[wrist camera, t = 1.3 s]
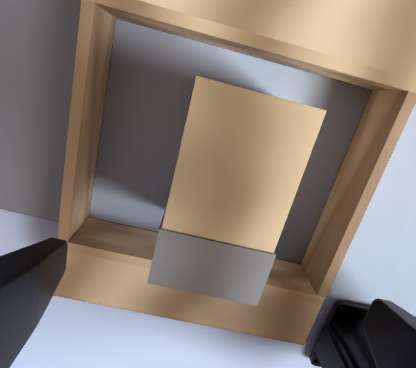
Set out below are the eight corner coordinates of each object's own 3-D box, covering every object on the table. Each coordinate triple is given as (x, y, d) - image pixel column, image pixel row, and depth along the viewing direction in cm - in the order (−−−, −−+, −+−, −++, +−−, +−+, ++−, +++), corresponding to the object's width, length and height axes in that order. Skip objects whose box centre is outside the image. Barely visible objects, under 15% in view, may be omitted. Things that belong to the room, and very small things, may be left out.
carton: (411, 20, 17) (460, 5, 14) (290, 308, 24) (303, 344, 20) (116, -70, 16) (92, -110, 12) (74, 263, 22) (51, 294, 19)
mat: (100, 3, 17) (96, 0, 16) (74, 220, 21) (70, 224, 21) (-85, -49, 16) (-96, -54, 15) (-73, 188, 20) (-81, 191, 20)
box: (279, 99, 19) (330, 111, 11) (239, 226, 21) (257, 305, 14) (199, 78, 18) (193, 74, 11) (168, 210, 21) (146, 283, 13)
